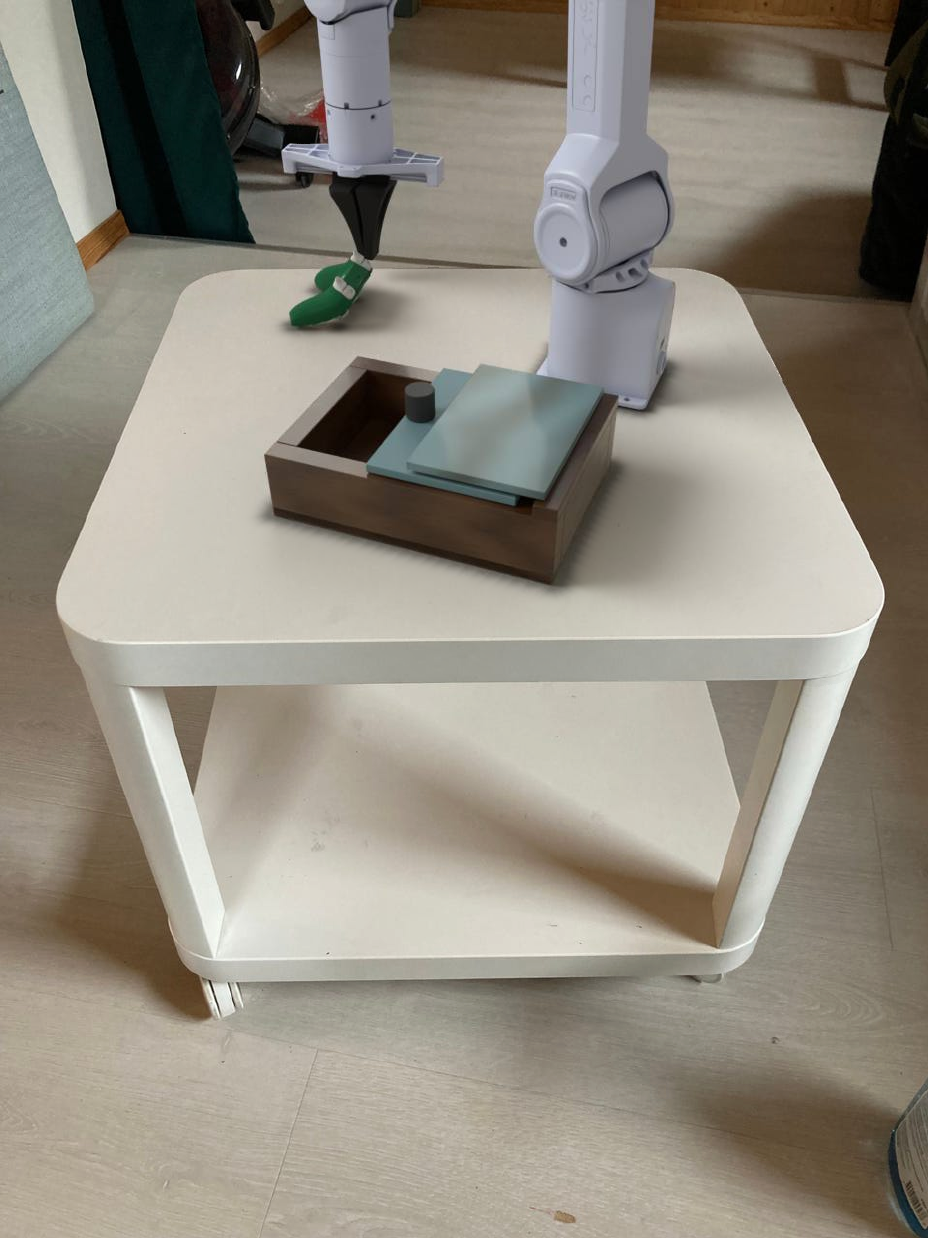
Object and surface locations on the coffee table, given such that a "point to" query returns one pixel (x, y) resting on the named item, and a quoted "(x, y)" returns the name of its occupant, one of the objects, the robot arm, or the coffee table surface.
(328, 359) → the coffee table surface
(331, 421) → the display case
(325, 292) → the green and white boots
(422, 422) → the sliding lid with knob
